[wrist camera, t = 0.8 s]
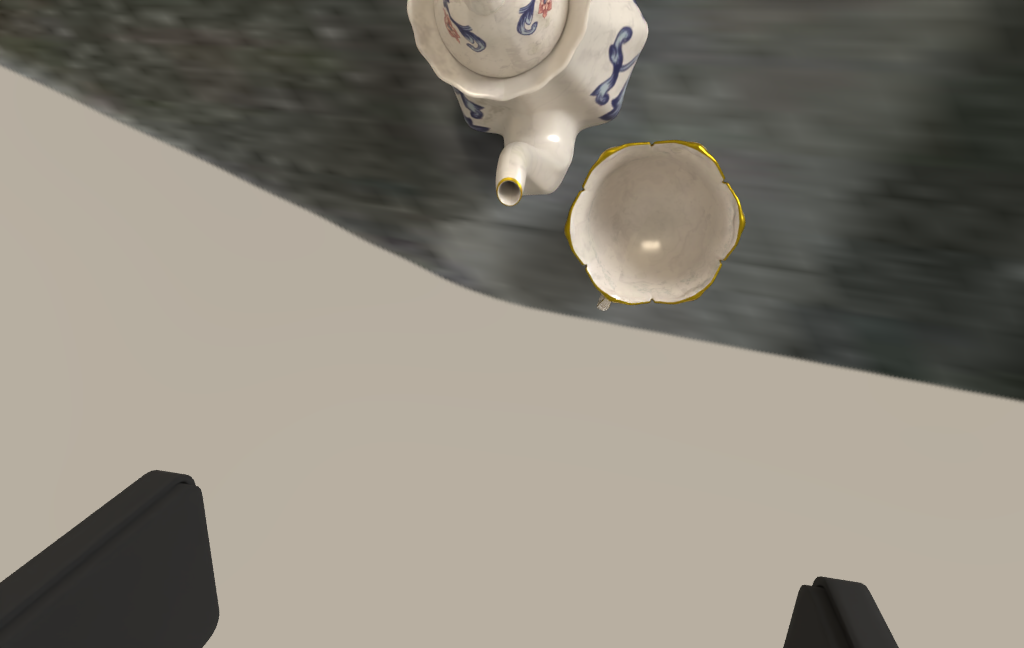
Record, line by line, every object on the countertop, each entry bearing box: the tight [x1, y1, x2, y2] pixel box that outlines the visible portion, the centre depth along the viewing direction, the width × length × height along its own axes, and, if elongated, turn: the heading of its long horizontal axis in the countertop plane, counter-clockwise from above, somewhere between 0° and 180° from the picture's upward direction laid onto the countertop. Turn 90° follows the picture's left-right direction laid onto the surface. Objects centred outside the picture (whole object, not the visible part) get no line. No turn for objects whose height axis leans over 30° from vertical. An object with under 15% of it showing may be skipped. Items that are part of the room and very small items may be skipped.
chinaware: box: [407, 0, 746, 311], centre depth 26 cm, size 28×17×17 cm, turn 4°
